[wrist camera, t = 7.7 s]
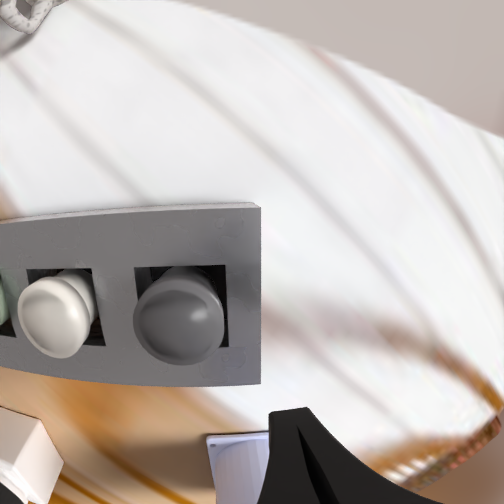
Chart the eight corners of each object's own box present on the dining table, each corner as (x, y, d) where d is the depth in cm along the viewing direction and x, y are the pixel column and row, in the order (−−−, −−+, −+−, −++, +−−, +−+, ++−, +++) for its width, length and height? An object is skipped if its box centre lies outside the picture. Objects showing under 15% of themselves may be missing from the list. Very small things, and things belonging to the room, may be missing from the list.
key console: (254, 353, 20) (260, 384, 16) (-3, 340, 18) (-25, 359, 14) (253, 202, 18) (260, 207, 14) (-29, 224, 15) (-57, 232, 12)
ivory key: (112, 327, 17) (90, 361, 13) (58, 324, 16) (29, 354, 13) (102, 261, 16) (72, 283, 12) (45, 263, 16) (10, 283, 12)
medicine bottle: (-7, 403, 19) (-57, 472, 7) (41, 418, 20) (-6, 506, 8) (18, 447, 21) (-17, 515, 9) (65, 462, 21) (35, 543, 10)
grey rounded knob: (224, 327, 18) (226, 364, 14) (155, 328, 17) (140, 364, 13) (221, 258, 17) (222, 281, 13) (146, 260, 16) (126, 283, 12)
